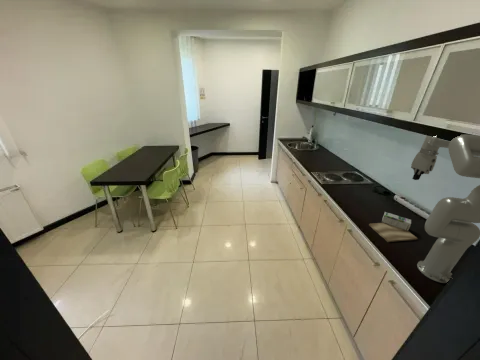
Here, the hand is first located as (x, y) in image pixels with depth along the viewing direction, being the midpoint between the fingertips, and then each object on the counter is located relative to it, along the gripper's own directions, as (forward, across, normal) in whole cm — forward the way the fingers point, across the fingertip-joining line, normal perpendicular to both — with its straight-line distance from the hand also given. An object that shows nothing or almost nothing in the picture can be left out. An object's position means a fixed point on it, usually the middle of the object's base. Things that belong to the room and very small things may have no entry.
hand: (415, 179), depth 125 cm
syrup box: (+28, 0, +13) cm, 31 cm away
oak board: (+32, -11, +15) cm, 37 cm away
